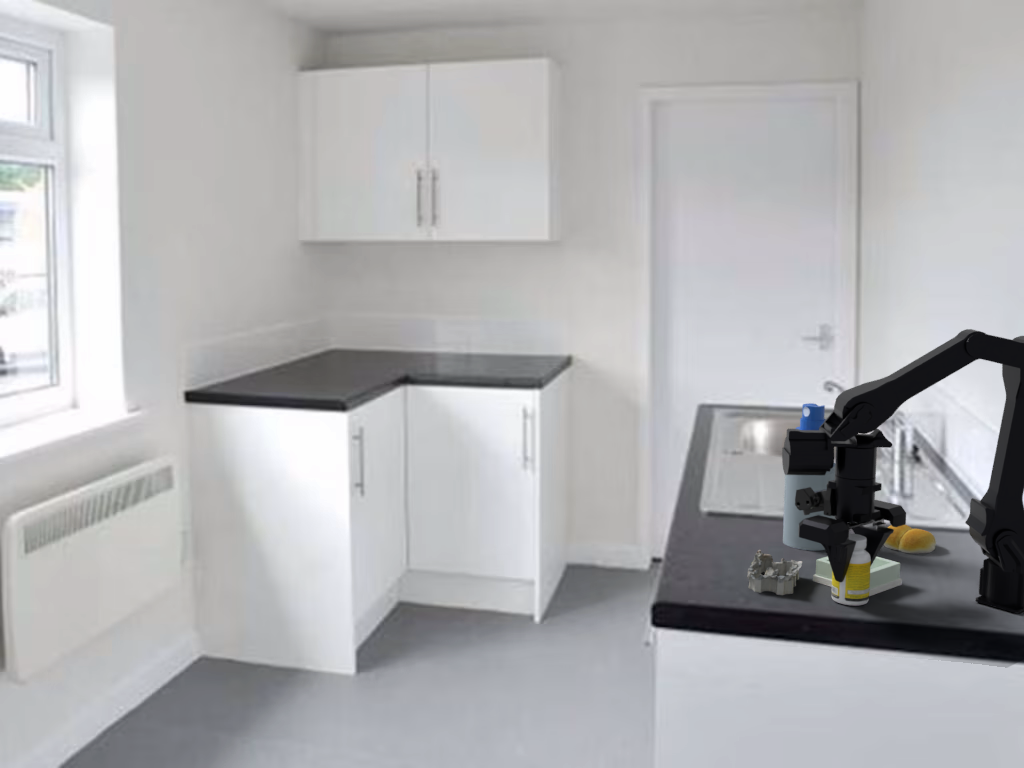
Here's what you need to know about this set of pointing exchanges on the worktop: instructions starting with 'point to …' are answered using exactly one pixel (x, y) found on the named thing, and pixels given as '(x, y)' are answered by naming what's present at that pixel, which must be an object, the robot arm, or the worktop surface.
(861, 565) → the supplement bottle
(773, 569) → the egg carton
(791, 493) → the spray bottle
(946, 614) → the worktop surface
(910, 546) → the bread roll
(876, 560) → the socket block
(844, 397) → the robot arm
